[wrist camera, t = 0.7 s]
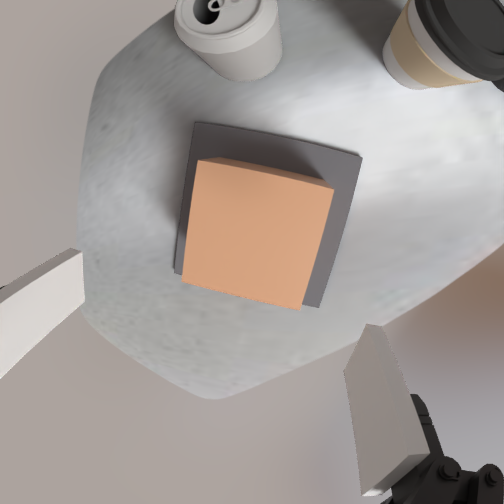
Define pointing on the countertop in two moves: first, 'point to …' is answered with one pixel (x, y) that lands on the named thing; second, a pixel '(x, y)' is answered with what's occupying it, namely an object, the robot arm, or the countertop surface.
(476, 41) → the coffee cup
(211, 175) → the orange block
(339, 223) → the mat
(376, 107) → the countertop surface
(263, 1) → the white soda can
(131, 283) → the countertop surface
